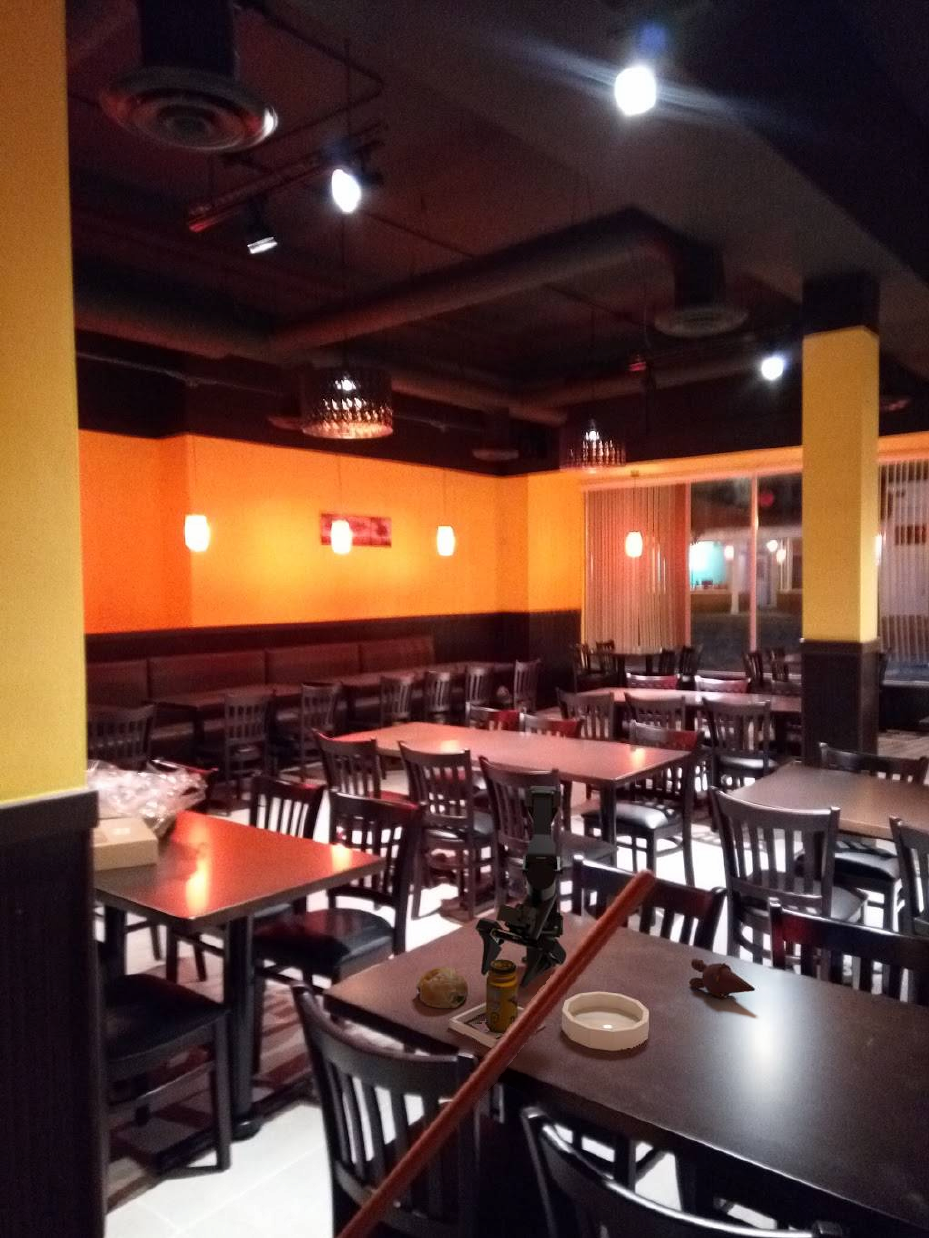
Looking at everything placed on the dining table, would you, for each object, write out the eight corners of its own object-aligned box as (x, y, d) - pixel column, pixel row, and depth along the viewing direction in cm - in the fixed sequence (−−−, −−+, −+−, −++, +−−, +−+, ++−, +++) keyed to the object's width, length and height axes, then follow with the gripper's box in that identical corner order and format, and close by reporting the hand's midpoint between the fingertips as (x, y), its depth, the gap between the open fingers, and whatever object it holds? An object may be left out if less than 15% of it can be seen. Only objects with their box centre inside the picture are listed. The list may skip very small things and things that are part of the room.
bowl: (595, 1001, 181) (596, 984, 181) (664, 1028, 170) (664, 1010, 170) (545, 1028, 170) (546, 1010, 170) (616, 1059, 158) (616, 1039, 158)
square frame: (497, 1004, 180) (497, 996, 179) (545, 1025, 171) (545, 1017, 171) (448, 1027, 170) (448, 1019, 170) (497, 1051, 161) (497, 1042, 161)
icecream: (765, 970, 182) (701, 955, 193) (745, 971, 177) (681, 954, 188) (762, 1006, 180) (699, 988, 191) (743, 1008, 176) (679, 989, 187)
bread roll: (438, 1029, 176) (452, 998, 174) (403, 994, 182) (416, 964, 180) (468, 1011, 184) (482, 981, 182) (433, 978, 190) (446, 949, 188)
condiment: (526, 1028, 170) (527, 966, 169) (490, 1040, 165) (490, 976, 165) (504, 1013, 176) (504, 953, 175) (468, 1024, 171) (468, 962, 171)
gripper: (481, 877, 180) (445, 947, 172) (558, 897, 169) (524, 973, 160) (504, 906, 187) (470, 975, 178) (580, 927, 175) (548, 1002, 167)
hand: (501, 980), depth 171 cm, fingers open, 9 cm apart
